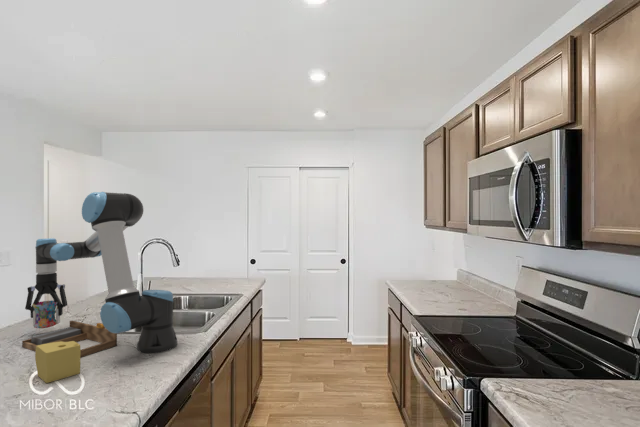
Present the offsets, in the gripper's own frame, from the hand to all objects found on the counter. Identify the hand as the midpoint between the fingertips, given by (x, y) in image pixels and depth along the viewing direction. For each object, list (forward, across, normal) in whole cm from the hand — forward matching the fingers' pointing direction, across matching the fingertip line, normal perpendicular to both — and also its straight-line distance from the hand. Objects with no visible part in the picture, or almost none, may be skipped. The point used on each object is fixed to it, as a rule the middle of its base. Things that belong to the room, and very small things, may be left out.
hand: (46, 323), depth 167 cm
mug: (+1, 0, 0) cm, 1 cm away
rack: (+5, -15, +21) cm, 26 cm away
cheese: (+6, -21, +50) cm, 55 cm away
